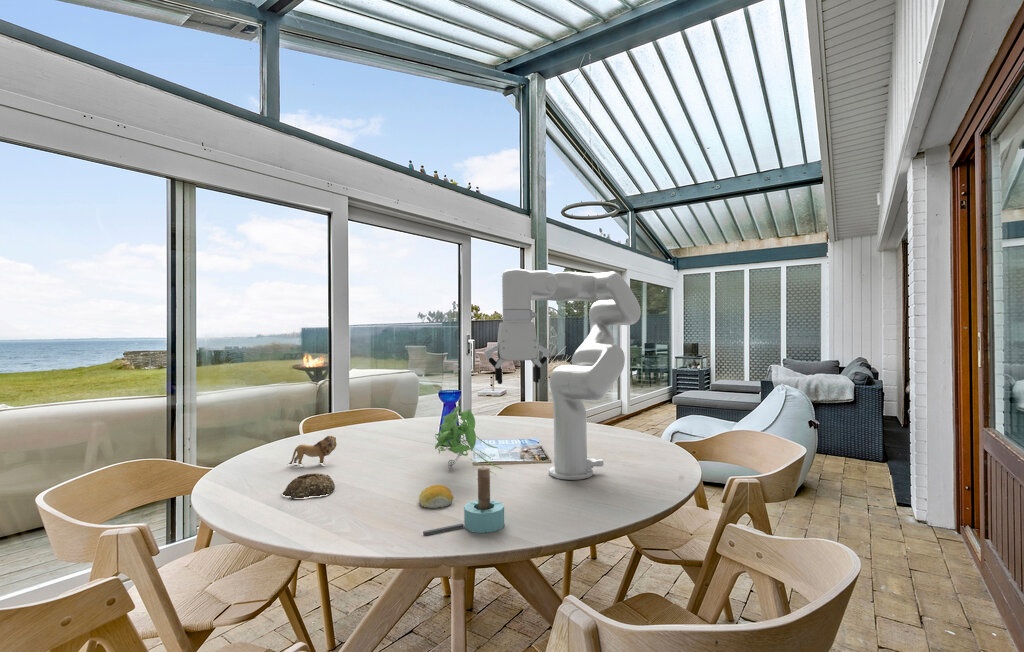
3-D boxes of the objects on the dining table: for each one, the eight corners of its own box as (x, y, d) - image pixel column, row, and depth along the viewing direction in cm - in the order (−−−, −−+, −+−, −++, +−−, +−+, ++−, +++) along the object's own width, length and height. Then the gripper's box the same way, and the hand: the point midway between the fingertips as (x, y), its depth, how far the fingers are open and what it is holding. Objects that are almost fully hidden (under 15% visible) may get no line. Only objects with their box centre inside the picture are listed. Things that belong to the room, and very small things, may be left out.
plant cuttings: (478, 474, 166) (425, 436, 165) (508, 433, 167) (455, 395, 166) (480, 512, 131) (413, 464, 130) (517, 460, 132) (451, 412, 131)
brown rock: (335, 483, 137) (335, 465, 137) (334, 497, 125) (334, 477, 125) (285, 488, 133) (285, 470, 133) (279, 503, 121) (279, 483, 121)
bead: (500, 515, 110) (499, 498, 110) (507, 530, 102) (506, 511, 102) (462, 519, 109) (462, 501, 109) (467, 534, 100) (466, 514, 100)
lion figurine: (336, 461, 160) (336, 433, 160) (336, 465, 155) (336, 436, 155) (287, 465, 155) (287, 437, 155) (285, 470, 150) (285, 440, 150)
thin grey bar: (462, 526, 105) (462, 523, 105) (463, 527, 104) (463, 524, 104) (423, 534, 101) (423, 531, 101) (424, 535, 100) (424, 532, 100)
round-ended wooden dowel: (489, 521, 107) (488, 467, 107) (491, 526, 104) (490, 470, 104) (477, 523, 106) (476, 467, 106) (479, 527, 104) (478, 471, 104)
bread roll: (450, 495, 125) (450, 479, 125) (454, 507, 117) (454, 490, 117) (417, 498, 123) (417, 482, 123) (419, 510, 115) (419, 493, 115)
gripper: (545, 317, 132) (546, 380, 132) (482, 317, 129) (482, 382, 129) (553, 316, 125) (554, 383, 125) (486, 316, 121) (487, 385, 121)
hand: (517, 382), depth 127 cm, fingers open, 9 cm apart
